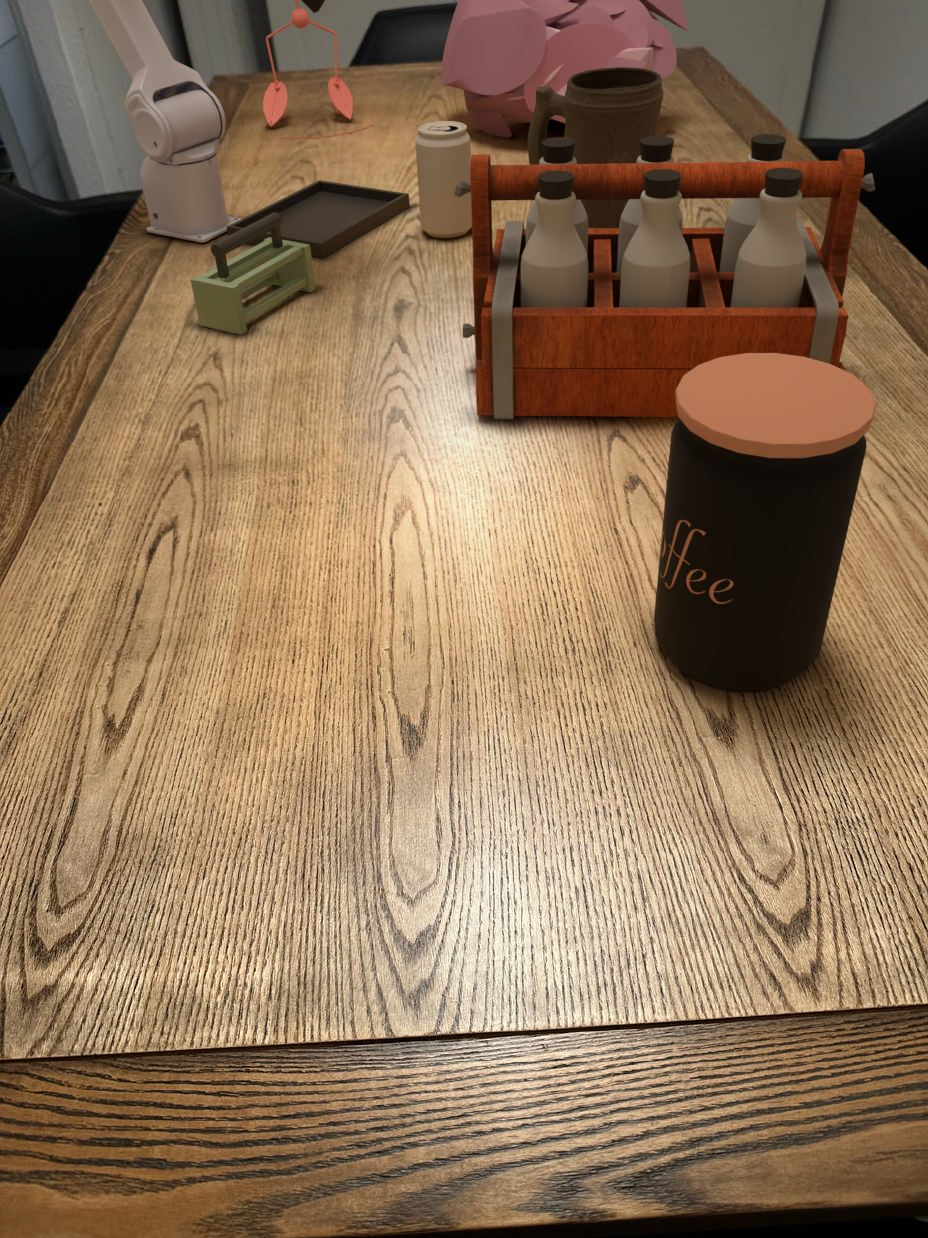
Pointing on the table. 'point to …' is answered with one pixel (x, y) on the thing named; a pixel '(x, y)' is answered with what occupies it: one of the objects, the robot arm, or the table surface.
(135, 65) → the robot arm
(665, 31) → the flower arrangement
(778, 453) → the coffee jar
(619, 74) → the beer stein
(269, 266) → the green tool caddy
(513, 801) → the table surface
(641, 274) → the milk bottle holder
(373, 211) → the tray
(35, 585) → the table surface
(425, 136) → the beverage can
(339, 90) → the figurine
